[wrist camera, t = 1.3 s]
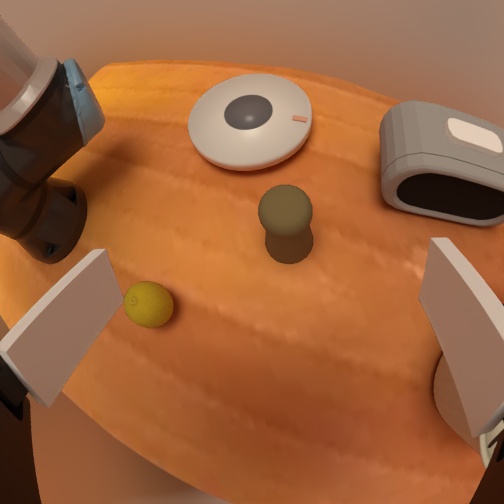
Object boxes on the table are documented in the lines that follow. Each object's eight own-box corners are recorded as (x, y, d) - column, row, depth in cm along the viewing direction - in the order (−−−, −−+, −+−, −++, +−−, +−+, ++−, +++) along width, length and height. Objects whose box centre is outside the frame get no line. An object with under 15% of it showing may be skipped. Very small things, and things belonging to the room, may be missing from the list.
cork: (262, 221, 38) (247, 180, 27) (308, 214, 37) (311, 170, 27) (268, 267, 36) (254, 240, 26) (316, 260, 35) (323, 229, 25)
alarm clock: (371, 209, 36) (399, 152, 23) (371, 151, 38) (391, 86, 25) (492, 234, 32) (545, 197, 19) (485, 178, 34) (526, 132, 21)
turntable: (173, 160, 40) (167, 152, 38) (217, 78, 44) (214, 69, 42) (295, 183, 36) (294, 173, 34) (321, 90, 40) (321, 80, 38)
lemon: (159, 336, 36) (126, 336, 28) (139, 302, 38) (105, 294, 30) (190, 313, 36) (163, 307, 28) (169, 279, 38) (139, 265, 30)
